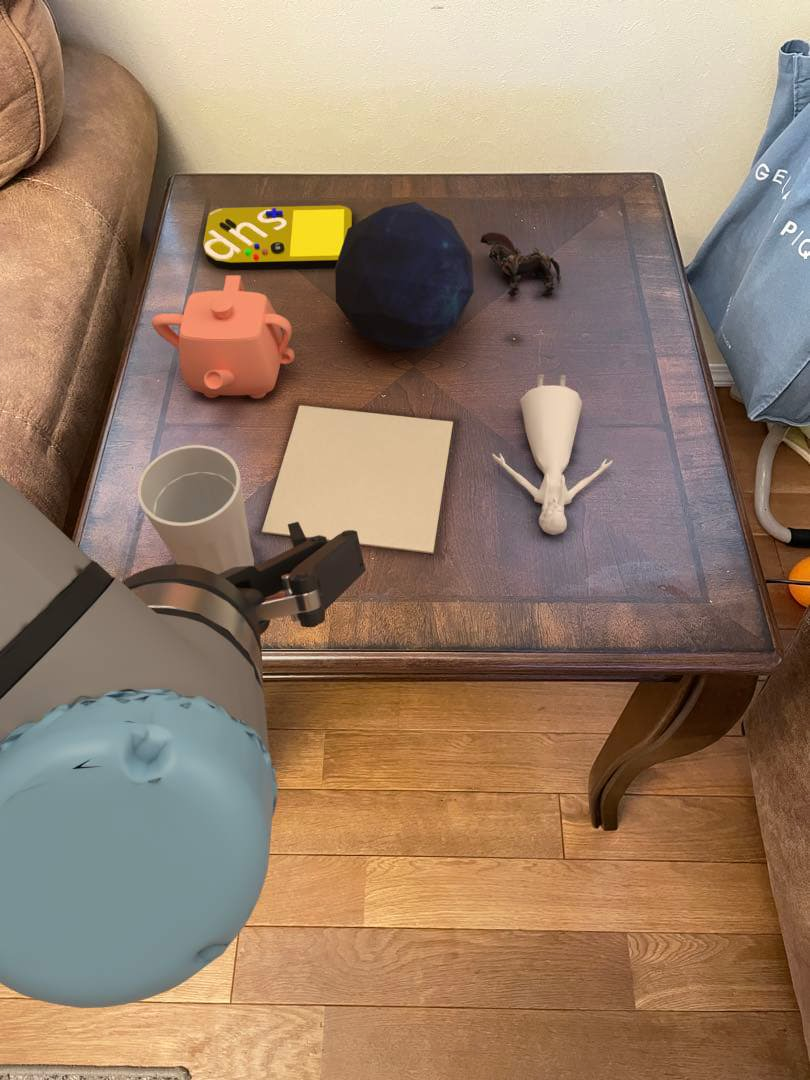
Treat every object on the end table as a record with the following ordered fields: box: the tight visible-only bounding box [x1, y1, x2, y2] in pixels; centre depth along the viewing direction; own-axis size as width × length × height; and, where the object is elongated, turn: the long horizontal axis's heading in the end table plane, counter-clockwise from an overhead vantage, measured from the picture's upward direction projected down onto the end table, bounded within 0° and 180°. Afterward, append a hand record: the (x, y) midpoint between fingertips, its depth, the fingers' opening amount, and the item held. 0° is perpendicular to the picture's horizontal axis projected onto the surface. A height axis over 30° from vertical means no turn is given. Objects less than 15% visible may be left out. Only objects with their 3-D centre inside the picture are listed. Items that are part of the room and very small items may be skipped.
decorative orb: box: [334, 201, 475, 352], centre depth 84 cm, size 14×15×15 cm
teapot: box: [151, 274, 295, 399], centre depth 81 cm, size 12×12×10 cm
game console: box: [202, 204, 353, 271], centre depth 98 cm, size 18×11×2 cm, turn 93°
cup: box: [136, 444, 255, 574], centre depth 67 cm, size 8×8×12 cm
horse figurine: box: [479, 231, 562, 341], centre depth 92 cm, size 9×4×15 cm
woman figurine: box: [491, 374, 614, 536], centre depth 77 cm, size 12×4×18 cm
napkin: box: [261, 404, 454, 555], centre depth 78 cm, size 16×16×1 cm
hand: (198, 566), depth 53 cm, fingers open, 13 cm apart
